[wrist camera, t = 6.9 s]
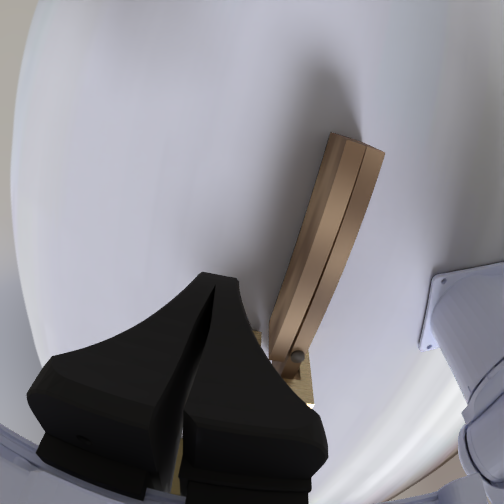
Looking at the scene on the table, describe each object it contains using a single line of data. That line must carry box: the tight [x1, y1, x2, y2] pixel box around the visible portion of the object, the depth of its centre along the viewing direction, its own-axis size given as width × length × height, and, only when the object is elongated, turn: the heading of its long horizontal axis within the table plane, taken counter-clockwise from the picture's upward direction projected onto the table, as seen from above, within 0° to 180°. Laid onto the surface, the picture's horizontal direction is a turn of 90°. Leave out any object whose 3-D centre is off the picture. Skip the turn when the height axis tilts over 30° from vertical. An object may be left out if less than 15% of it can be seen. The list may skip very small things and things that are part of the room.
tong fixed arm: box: [272, 137, 385, 379], centre depth 19 cm, size 18×1×4 cm, turn 167°
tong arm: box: [269, 132, 366, 362], centre depth 18 cm, size 14×1×4 cm, turn 166°
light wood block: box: [253, 331, 314, 408], centre depth 21 cm, size 2×4×6 cm, turn 77°
